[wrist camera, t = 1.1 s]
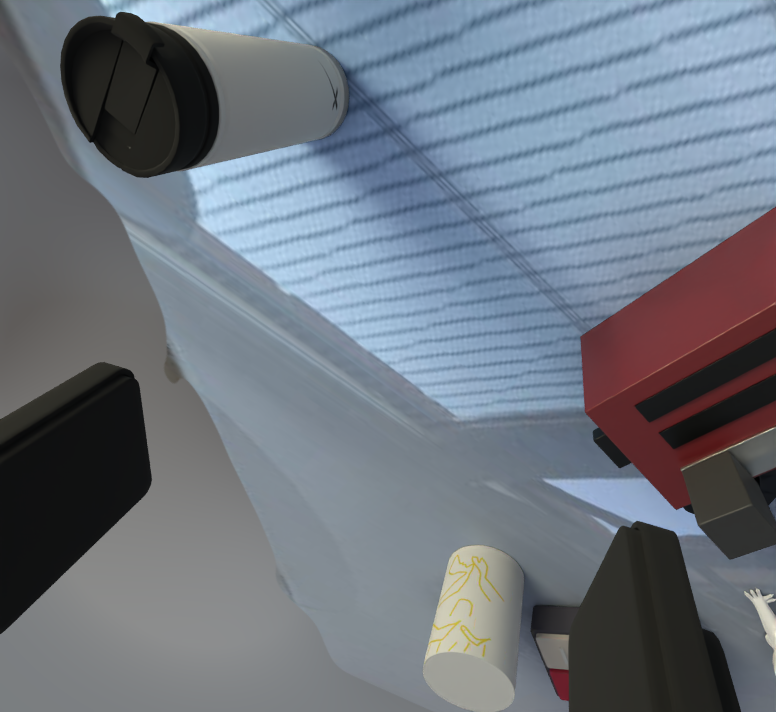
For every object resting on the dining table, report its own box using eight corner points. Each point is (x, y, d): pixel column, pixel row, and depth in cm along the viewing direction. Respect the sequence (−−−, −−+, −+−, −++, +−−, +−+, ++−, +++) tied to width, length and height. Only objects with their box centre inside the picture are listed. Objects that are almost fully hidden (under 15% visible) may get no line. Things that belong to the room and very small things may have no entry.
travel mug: (369, 82, 36) (201, 81, 20) (321, 157, 40) (143, 212, 23) (302, 19, 36) (69, -37, 19) (259, 101, 39) (30, 115, 23)
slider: (728, 449, 29) (752, 504, 25) (757, 482, 29) (786, 541, 26) (680, 470, 30) (697, 525, 27) (709, 501, 31) (729, 560, 27)
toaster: (780, 203, 33) (868, 252, 23) (860, 304, 34) (975, 391, 24) (563, 347, 41) (562, 426, 32) (633, 424, 42) (653, 522, 33)
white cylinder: (501, 538, 52) (485, 647, 42) (537, 593, 54) (531, 710, 44) (434, 553, 56) (406, 656, 46) (471, 604, 58) (451, 714, 48)
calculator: (528, 636, 52) (695, 646, 45) (532, 600, 56) (688, 604, 49) (556, 704, 56) (715, 723, 49) (559, 666, 60) (707, 679, 53)
